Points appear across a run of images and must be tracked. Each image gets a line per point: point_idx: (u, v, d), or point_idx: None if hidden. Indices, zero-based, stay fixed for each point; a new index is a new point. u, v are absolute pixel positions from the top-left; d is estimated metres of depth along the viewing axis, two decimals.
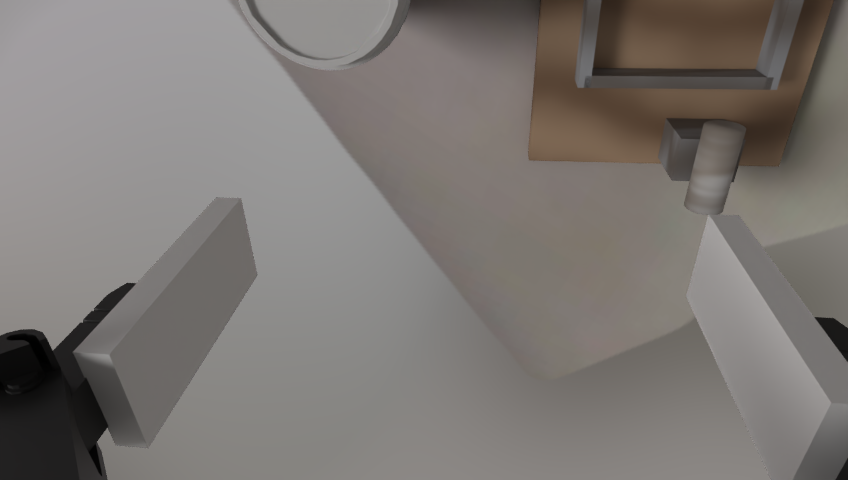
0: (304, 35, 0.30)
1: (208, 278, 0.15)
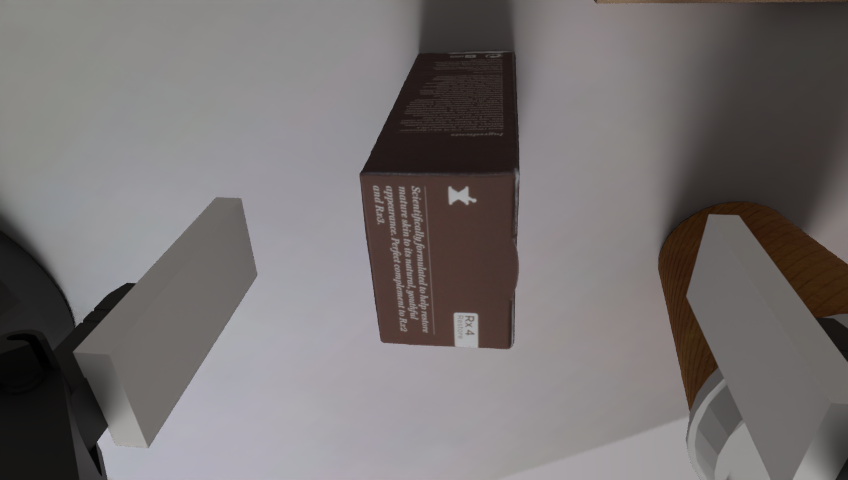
0: None
1: (208, 278, 0.15)
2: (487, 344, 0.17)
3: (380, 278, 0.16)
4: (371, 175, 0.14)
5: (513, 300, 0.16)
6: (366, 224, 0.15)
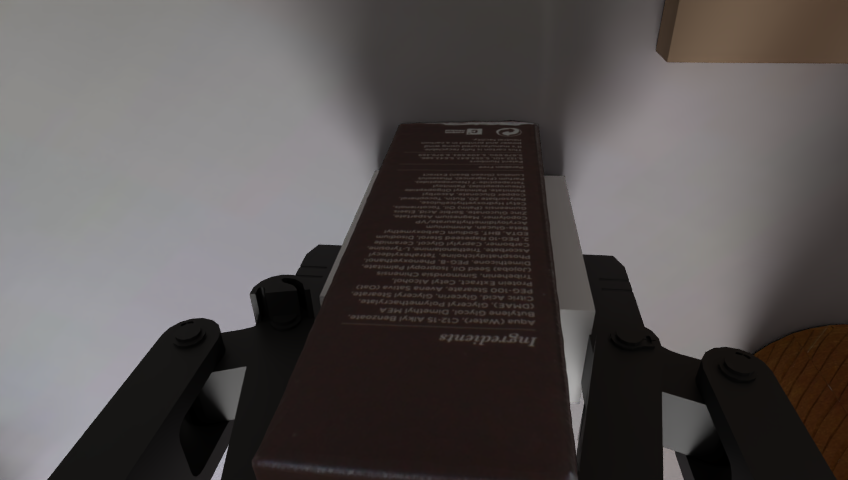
0: None
1: None
2: None
3: None
4: (275, 466, 0.07)
5: None
6: None
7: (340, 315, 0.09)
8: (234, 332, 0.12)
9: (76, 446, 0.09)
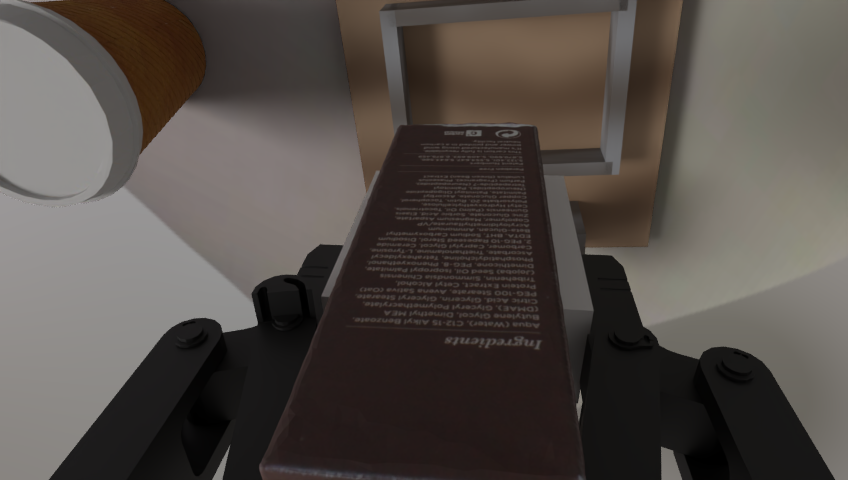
0: (28, 174, 0.26)
1: None
2: None
3: None
4: (282, 470, 0.07)
5: None
6: None
7: (344, 318, 0.09)
8: (236, 332, 0.12)
9: (78, 446, 0.09)
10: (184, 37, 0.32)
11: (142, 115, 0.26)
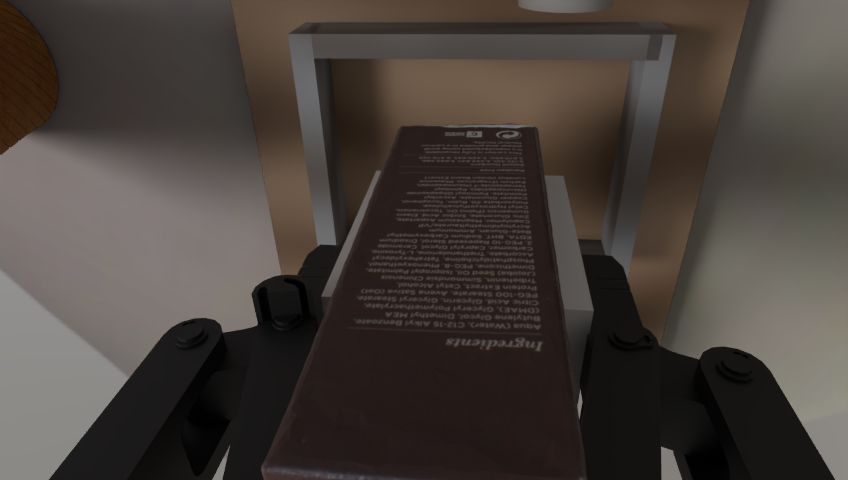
0: None
1: None
2: None
3: None
4: (284, 472, 0.07)
5: None
6: None
7: (346, 319, 0.09)
8: (236, 332, 0.12)
9: (77, 446, 0.09)
10: (12, 48, 0.22)
11: None
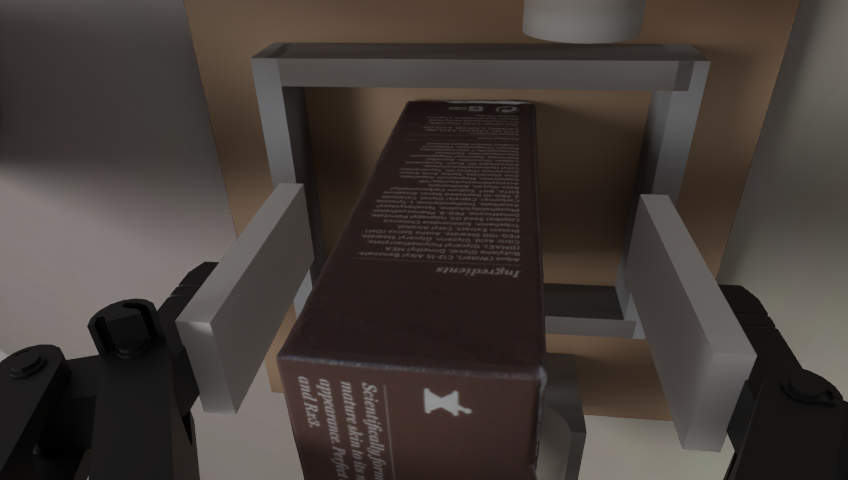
0: None
1: (279, 258, 0.15)
2: None
3: None
4: (295, 360, 0.08)
5: None
6: (292, 423, 0.09)
7: (351, 252, 0.11)
8: (86, 358, 0.12)
9: None
10: None
11: None
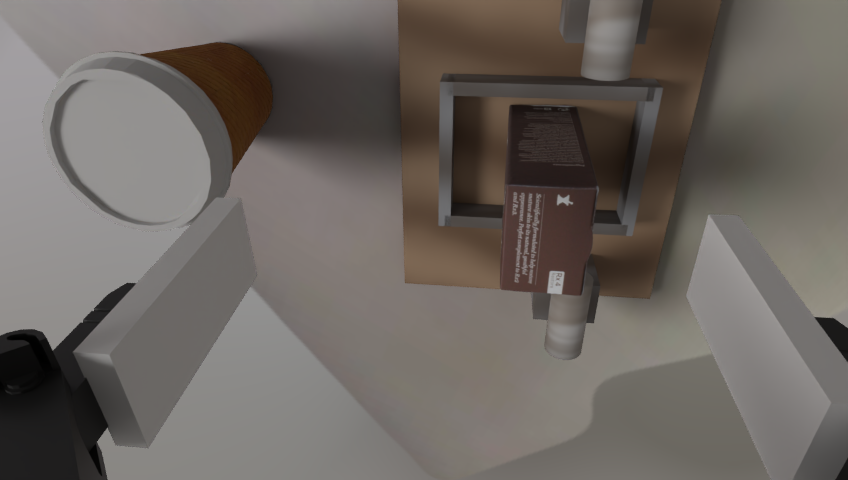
0: (127, 201, 0.30)
1: (208, 278, 0.15)
2: (567, 292, 0.27)
3: (507, 248, 0.27)
4: (513, 186, 0.25)
5: (586, 264, 0.27)
6: (505, 214, 0.26)
7: (517, 159, 0.27)
8: None
9: None
10: (260, 84, 0.36)
11: (232, 157, 0.30)
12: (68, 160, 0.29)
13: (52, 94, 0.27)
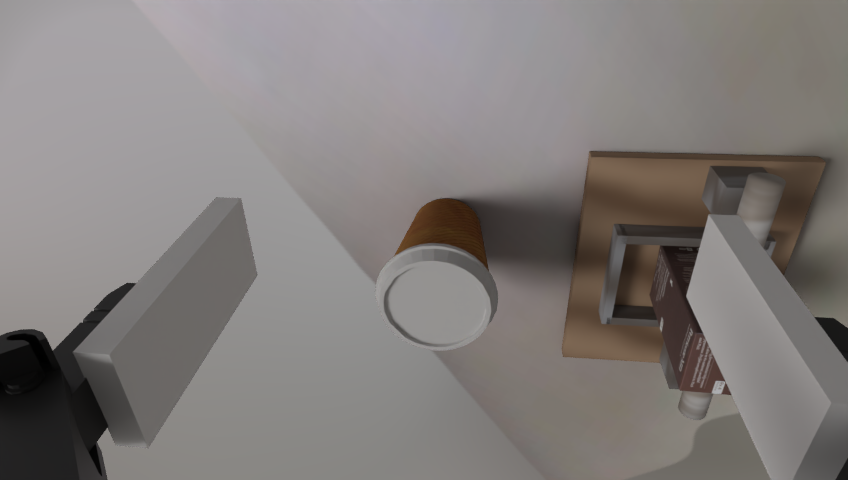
0: (422, 331, 0.45)
1: (208, 278, 0.15)
2: (725, 392, 0.42)
3: (689, 367, 0.42)
4: (699, 334, 0.40)
5: None
6: (691, 349, 0.41)
7: None
8: None
9: None
10: (480, 230, 0.50)
11: None
12: (389, 308, 0.44)
13: (394, 273, 0.42)
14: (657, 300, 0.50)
